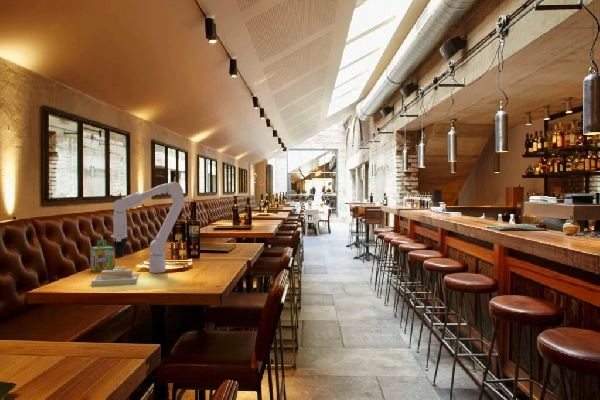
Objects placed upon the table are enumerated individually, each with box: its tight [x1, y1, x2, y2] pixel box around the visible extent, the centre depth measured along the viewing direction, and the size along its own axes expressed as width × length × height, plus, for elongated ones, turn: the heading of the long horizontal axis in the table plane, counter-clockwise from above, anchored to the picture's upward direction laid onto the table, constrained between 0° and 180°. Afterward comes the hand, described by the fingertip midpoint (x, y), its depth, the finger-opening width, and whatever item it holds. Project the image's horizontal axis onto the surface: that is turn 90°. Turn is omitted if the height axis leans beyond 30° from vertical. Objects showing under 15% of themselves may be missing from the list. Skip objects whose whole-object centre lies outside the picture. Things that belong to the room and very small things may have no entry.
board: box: [89, 273, 141, 287], centre depth 203 cm, size 22×18×1 cm
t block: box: [100, 266, 133, 280], centre depth 206 cm, size 12×12×4 cm
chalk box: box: [89, 239, 116, 272], centre depth 229 cm, size 9×9×15 cm
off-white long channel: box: [91, 277, 138, 287], centre depth 195 cm, size 5×17×2 cm, turn 105°
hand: (120, 255), depth 216 cm, fingers open, 6 cm apart
